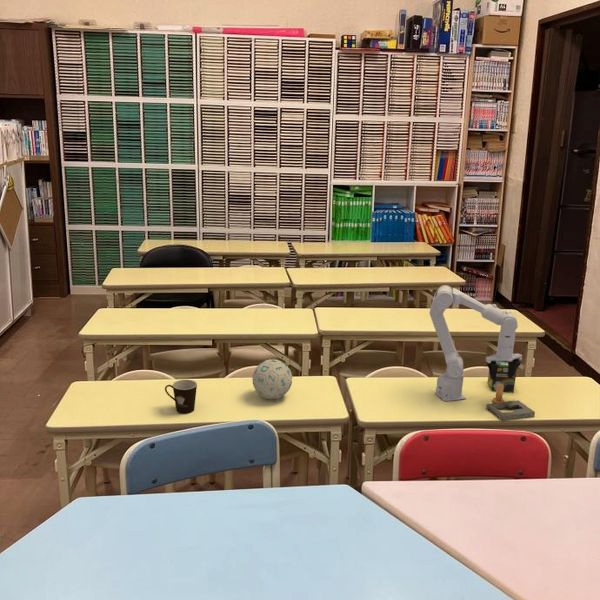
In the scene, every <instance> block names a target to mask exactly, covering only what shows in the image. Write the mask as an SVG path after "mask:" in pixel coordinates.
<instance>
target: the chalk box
mask: <svg viewBox="0 0 600 600" xmlns="http://www.w3.org/2000/svg"><path fill="white" fill-rule="evenodd" d="M496 363H497V365H499V367H498V370H497V373H496V379H495V380H492V379H490V371H489V370H488V374H487V384H488V386H489V389H490V390H491V392H496V390H497V385H498V384H501V385H503V386H504V387H503V393H504V392H505V393H514V392H515V387H516V386H515V385H516V384H515V383H516V379H517V378H516V376H517V370H518V368H517V369H516V371H515V373H514V375H513V378H512V379H511V378H509V377H508V361H498V362H496Z"/></svg>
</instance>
